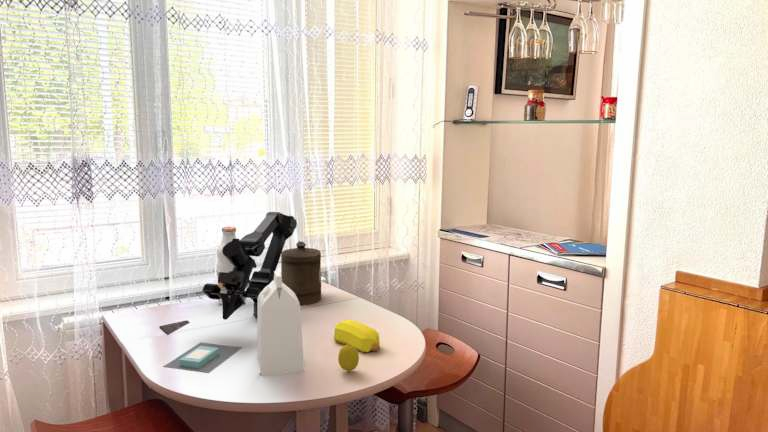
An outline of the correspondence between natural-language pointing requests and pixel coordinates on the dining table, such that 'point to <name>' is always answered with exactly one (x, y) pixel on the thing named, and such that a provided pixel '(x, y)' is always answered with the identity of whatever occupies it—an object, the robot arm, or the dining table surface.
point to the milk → (279, 329)
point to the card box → (199, 356)
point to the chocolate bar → (173, 326)
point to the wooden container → (302, 272)
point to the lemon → (348, 357)
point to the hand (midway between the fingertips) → (224, 319)
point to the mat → (212, 364)
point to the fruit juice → (222, 260)
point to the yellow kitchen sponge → (357, 335)
